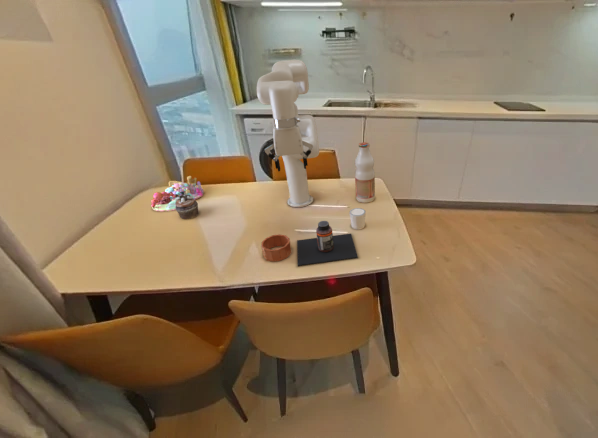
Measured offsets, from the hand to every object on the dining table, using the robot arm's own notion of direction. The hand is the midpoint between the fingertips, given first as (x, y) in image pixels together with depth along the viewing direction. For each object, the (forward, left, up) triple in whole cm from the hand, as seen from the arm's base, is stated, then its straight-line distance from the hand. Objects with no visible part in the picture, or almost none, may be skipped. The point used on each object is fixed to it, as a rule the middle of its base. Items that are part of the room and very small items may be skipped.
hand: (292, 168), depth 119 cm
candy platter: (-46, -62, -28) cm, 82 cm away
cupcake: (-27, -52, -28) cm, 65 cm away
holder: (+13, -9, -28) cm, 33 cm away
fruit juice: (-23, +32, -28) cm, 49 cm away
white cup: (+1, +24, -28) cm, 37 cm away
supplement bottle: (+15, +9, -28) cm, 33 cm away
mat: (+15, +9, -28) cm, 33 cm away
